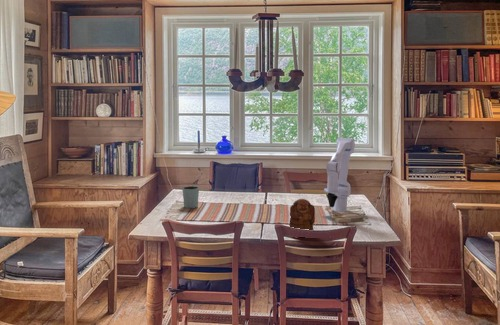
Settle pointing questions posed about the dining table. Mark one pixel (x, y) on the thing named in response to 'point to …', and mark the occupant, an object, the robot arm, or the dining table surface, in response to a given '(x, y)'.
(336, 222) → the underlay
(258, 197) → the dining table surface
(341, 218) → the plank
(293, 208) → the wooden figurine
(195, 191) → the green plant pot
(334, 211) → the plank
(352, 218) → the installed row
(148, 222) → the dining table surface
